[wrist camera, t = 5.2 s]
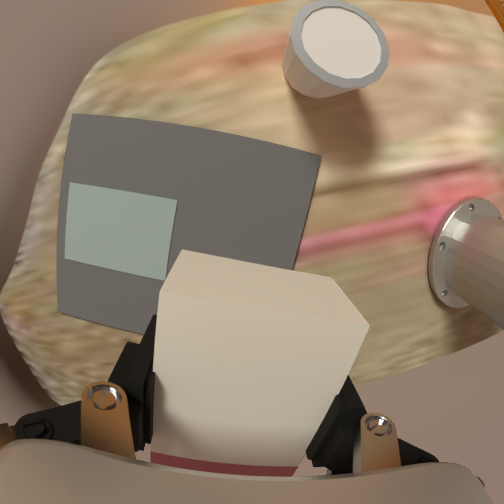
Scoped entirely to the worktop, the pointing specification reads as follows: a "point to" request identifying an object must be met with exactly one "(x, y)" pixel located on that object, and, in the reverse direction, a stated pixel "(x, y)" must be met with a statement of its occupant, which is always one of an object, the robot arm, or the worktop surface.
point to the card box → (246, 364)
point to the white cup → (333, 50)
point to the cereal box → (497, 10)
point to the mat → (168, 210)
